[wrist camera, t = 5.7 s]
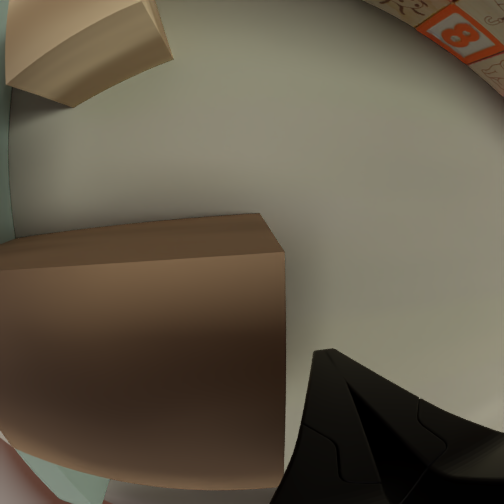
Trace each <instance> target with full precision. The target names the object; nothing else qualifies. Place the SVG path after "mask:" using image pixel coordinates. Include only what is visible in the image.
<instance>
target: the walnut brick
mask: <svg viewBox="0 0 504 504" xmlns="http://www.w3.org/2000/svg"><path fill="white" fill-rule="evenodd" d="M285 407H286V296H285V252H284V250H283V249H282V247H281V246H280V244H279V243H278V241H277V239H276V238H275V236H274V235H273V233H272V232H271V230H270V229H269V227H268V226H267V224H266V222H265V221H264V219H263V218H262V216H261V215H260V213H255V214H240V215H225V216H211V217H198V218H186V219H174V220H163V221H153V222H142V223H132V224H123V225H114V226H105V227H96V228H88V229H79V230H71V231H64V232H56V233H49V234H41V235H34V236H28V237H21V238H15V239H13V240H10V241H7V242H5V243H2V244H0V431H1V432H2V433H3V435H4V436H5V438H6V439H7V440H8V442H9V443H10V444H11V446H12V447H13V448H15V449H17V450H19V451H22V452H24V453H27V454H29V455H32V456H34V457H37V458H39V459H42V460H45V461H48V462H50V463H53V464H56V465H59V466H62V467H66V468H69V469H72V470H76V471H79V472H83V473H87V474H91V475H95V476H99V477H103V478H108V479H112V480H117V481H123V482H128V483H134V484H141V485H148V486H156V487H165V488H176V489H191V490H246V489H262V488H273V487H278V486H279V484H280V482H281V480H282V478H283V475H284V448H285Z"/></svg>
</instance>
